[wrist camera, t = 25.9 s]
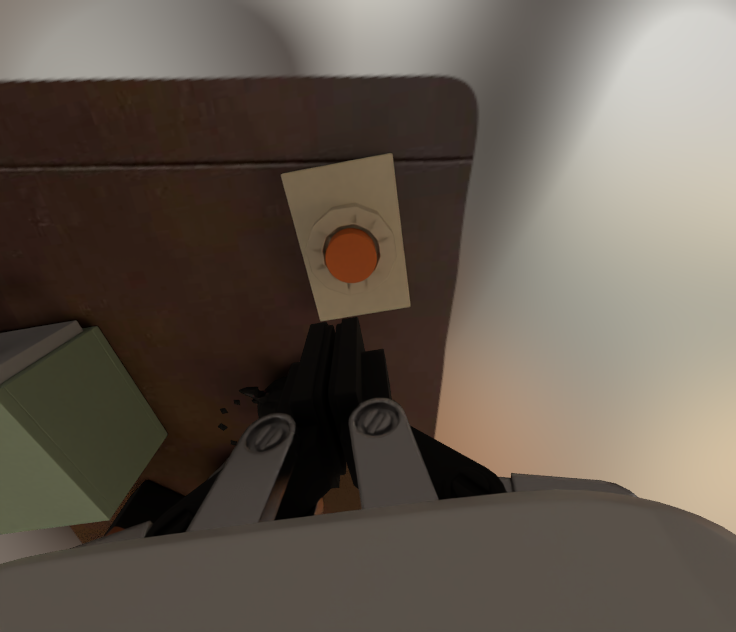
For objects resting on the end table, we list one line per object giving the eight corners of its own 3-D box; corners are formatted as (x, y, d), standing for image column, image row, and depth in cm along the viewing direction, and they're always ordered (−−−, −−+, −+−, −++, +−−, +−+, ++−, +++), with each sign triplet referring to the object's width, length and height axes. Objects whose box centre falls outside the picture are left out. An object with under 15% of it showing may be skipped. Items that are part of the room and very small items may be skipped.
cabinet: (-16, 344, 30) (-163, 419, 22) (97, 325, 30) (-9, 394, 21) (74, 447, 37) (-12, 536, 28) (168, 434, 36) (109, 520, 28)
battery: (146, 478, 40) (84, 571, 31) (195, 500, 42) (151, 593, 33) (131, 494, 41) (67, 588, 32) (179, 514, 43) (132, 608, 34)
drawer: (-67, 295, 27) (-215, 344, 20) (46, 275, 26) (-66, 318, 19) (60, 439, 35) (-13, 510, 28) (149, 426, 34) (96, 495, 27)
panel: (286, 172, 24) (273, 175, 20) (389, 153, 24) (395, 152, 20) (322, 310, 29) (317, 332, 26) (407, 296, 29) (413, 316, 25)
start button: (322, 232, 23) (319, 238, 21) (371, 223, 22) (372, 228, 21) (333, 278, 24) (331, 287, 23) (379, 271, 24) (380, 279, 22)
